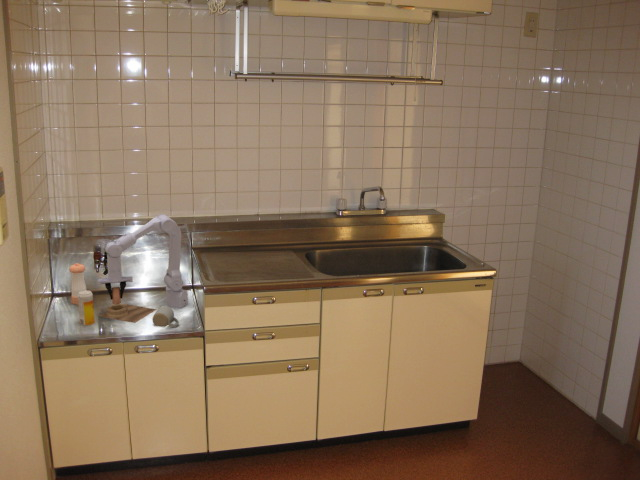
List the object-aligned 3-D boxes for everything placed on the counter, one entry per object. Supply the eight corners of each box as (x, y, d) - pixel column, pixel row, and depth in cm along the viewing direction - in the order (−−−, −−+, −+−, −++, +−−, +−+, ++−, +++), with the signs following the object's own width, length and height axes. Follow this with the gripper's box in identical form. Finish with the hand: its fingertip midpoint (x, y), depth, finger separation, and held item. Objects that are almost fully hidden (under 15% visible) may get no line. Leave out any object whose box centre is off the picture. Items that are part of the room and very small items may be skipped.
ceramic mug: (151, 328, 284) (151, 311, 282) (157, 320, 292) (157, 304, 290) (175, 330, 283) (175, 313, 281) (181, 322, 291) (180, 306, 289)
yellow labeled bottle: (97, 323, 288) (95, 291, 283) (88, 328, 282) (86, 295, 278) (86, 321, 289) (83, 289, 285) (77, 326, 284) (74, 293, 280)
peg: (122, 302, 295) (121, 287, 293) (117, 304, 292) (116, 289, 290) (115, 300, 296) (114, 286, 294) (110, 303, 293) (109, 288, 291)
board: (156, 311, 302) (156, 309, 302) (135, 325, 287) (134, 322, 286) (121, 305, 308) (121, 303, 308) (98, 318, 293) (98, 316, 292)
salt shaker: (69, 301, 312) (66, 262, 307) (85, 298, 316) (82, 260, 311) (74, 305, 307) (71, 266, 301) (90, 302, 311) (87, 264, 306)
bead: (131, 311, 298) (131, 305, 297) (119, 319, 290) (119, 312, 289) (115, 309, 301) (114, 302, 300) (102, 315, 293) (102, 309, 292)
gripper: (130, 265, 296) (132, 293, 299) (96, 267, 291) (98, 296, 294) (132, 269, 289) (133, 298, 293) (97, 272, 284) (99, 302, 288)
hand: (116, 298), depth 293 cm, fingers closed on peg, 4 cm apart
